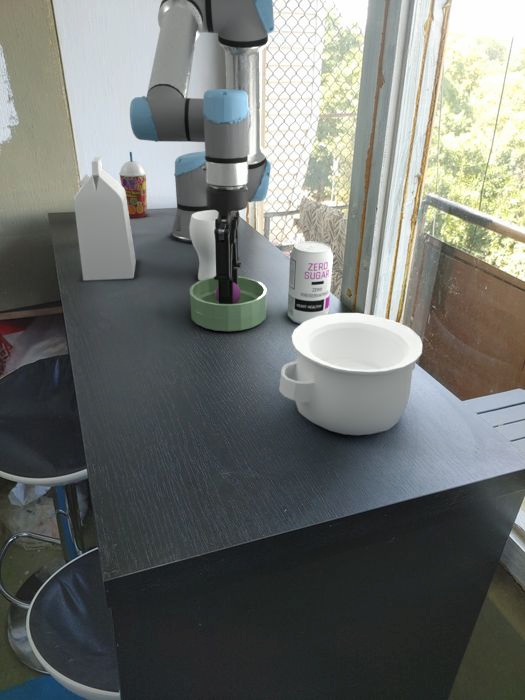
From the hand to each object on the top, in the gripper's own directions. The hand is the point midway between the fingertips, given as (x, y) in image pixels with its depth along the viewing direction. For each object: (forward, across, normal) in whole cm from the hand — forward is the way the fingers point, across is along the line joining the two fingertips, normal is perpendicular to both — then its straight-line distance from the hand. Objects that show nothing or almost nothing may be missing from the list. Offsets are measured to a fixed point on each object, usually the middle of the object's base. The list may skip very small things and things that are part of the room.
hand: (228, 303), depth 105 cm
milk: (+3, -22, -33) cm, 40 cm away
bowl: (+3, 0, 0) cm, 3 cm away
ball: (0, 0, 0) cm, 0 cm away
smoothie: (+3, -73, -43) cm, 85 cm away
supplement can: (+3, -2, +16) cm, 16 cm away
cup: (+3, -21, -7) cm, 22 cm away
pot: (+3, +30, +23) cm, 38 cm away
